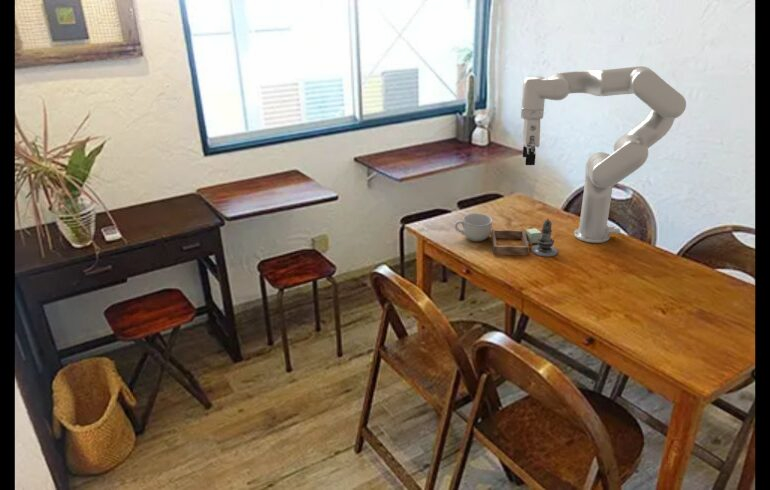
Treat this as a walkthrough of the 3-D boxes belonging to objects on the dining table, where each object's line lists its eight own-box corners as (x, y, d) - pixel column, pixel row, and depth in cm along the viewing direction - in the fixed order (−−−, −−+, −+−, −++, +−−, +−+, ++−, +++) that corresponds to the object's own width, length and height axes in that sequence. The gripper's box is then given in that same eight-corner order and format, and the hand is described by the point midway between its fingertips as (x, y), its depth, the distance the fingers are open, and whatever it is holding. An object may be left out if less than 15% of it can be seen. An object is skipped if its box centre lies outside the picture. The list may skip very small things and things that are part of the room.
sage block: (535, 238, 214) (536, 228, 212) (540, 242, 210) (541, 232, 208) (525, 239, 213) (526, 229, 211) (530, 243, 209) (531, 233, 208)
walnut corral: (523, 237, 214) (524, 230, 213) (528, 255, 200) (528, 247, 199) (491, 236, 215) (491, 229, 214) (493, 254, 202) (493, 246, 201)
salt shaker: (553, 247, 204) (557, 216, 199) (552, 254, 199) (556, 222, 194) (537, 245, 206) (540, 214, 201) (535, 252, 201) (538, 220, 196)
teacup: (490, 232, 219) (491, 213, 216) (492, 244, 209) (493, 224, 206) (453, 232, 220) (454, 212, 217) (454, 243, 211) (454, 223, 207)
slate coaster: (555, 246, 206) (555, 244, 206) (559, 257, 198) (559, 255, 198) (530, 245, 207) (530, 244, 207) (532, 256, 199) (533, 254, 199)
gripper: (546, 118, 191) (542, 168, 198) (540, 108, 206) (536, 154, 213) (523, 118, 191) (520, 168, 199) (518, 108, 207) (515, 154, 214)
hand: (528, 160), depth 206 cm, fingers open, 9 cm apart
